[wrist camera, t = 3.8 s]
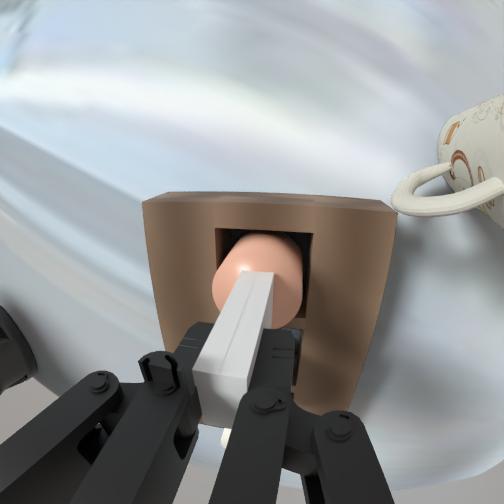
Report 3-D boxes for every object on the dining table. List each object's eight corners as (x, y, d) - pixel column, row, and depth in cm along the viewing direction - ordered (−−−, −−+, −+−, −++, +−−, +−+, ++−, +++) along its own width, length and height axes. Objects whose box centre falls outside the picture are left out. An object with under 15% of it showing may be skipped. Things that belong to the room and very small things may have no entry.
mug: (516, 194, 13) (604, 234, 4) (390, 254, 17) (453, 349, 8) (486, 88, 11) (580, 74, 2) (345, 135, 15) (402, 118, 6)
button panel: (195, 394, 25) (184, 419, 22) (168, 191, 18) (141, 202, 15) (334, 409, 23) (335, 438, 20) (380, 200, 16) (397, 212, 13)
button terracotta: (232, 291, 18) (214, 326, 14) (230, 226, 17) (209, 249, 13) (299, 296, 17) (298, 335, 14) (305, 229, 16) (305, 255, 12)
